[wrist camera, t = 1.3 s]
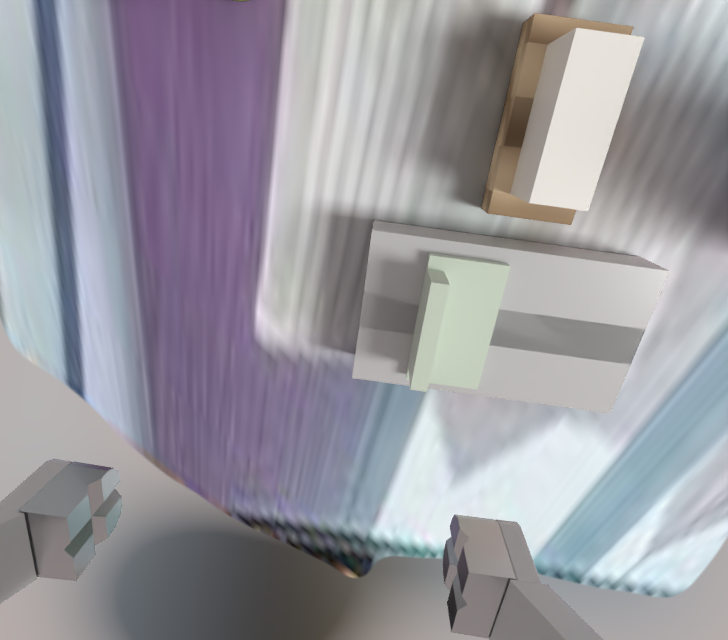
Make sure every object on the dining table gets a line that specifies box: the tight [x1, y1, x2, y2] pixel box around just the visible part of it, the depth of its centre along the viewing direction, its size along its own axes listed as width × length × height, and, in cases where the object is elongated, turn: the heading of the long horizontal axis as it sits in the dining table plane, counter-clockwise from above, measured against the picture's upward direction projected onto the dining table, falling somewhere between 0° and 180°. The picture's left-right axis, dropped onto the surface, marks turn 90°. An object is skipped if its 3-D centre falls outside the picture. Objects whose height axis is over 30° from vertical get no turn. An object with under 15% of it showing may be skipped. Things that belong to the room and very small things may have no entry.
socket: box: [352, 220, 670, 413], centre depth 34 cm, size 12×21×4 cm, turn 83°
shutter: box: [406, 252, 510, 392], centre depth 31 cm, size 10×6×4 cm, turn 173°
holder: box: [481, 13, 633, 225], centre depth 30 cm, size 12×6×2 cm, turn 173°
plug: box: [510, 28, 645, 211], centre depth 28 cm, size 9×4×7 cm, turn 173°
